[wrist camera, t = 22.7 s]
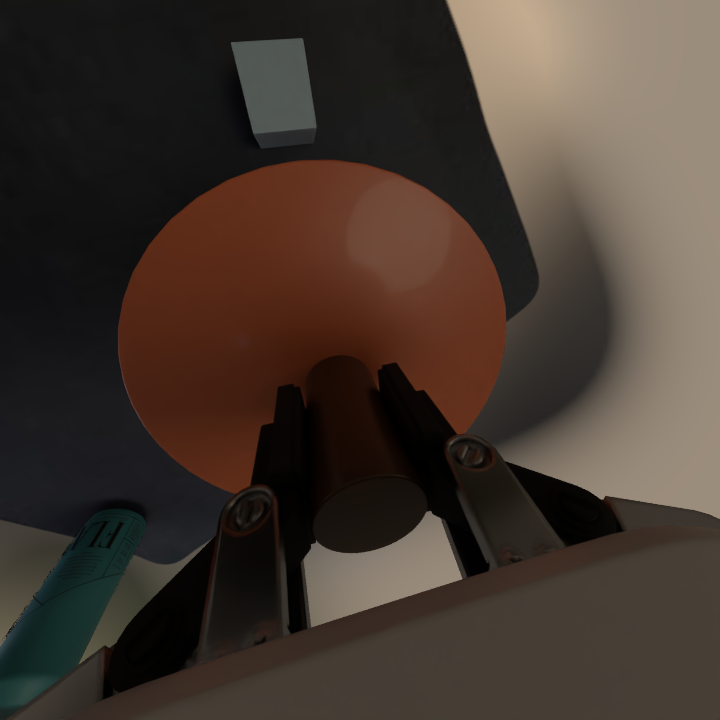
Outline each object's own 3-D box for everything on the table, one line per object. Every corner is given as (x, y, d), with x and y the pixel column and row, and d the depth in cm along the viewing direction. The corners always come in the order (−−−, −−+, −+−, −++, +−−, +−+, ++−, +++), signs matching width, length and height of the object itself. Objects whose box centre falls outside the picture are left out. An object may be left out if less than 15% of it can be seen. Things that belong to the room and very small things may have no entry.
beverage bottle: (146, 493, 34) (-9, 773, 17) (159, 525, 37) (38, 791, 20) (85, 499, 33) (-152, 813, 16) (103, 532, 36) (-79, 825, 18)
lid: (23, 196, 8) (-1015, 105, 2) (516, 142, 10) (894, 9, 4) (222, 517, 16) (171, 714, 10) (476, 451, 18) (573, 578, 12)
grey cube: (243, 75, 19) (230, 41, 15) (301, 71, 20) (302, 37, 16) (260, 148, 21) (253, 134, 18) (313, 143, 22) (316, 127, 18)
